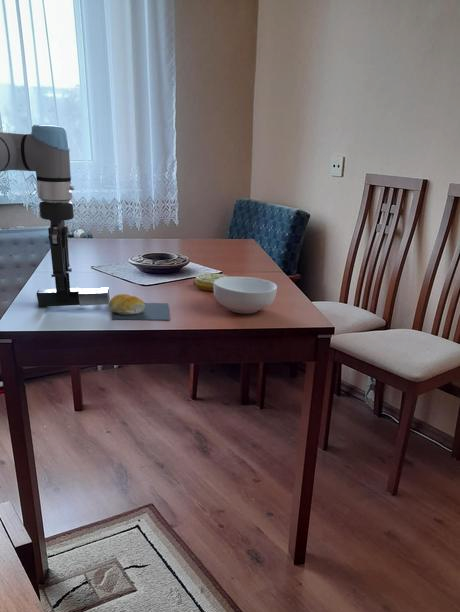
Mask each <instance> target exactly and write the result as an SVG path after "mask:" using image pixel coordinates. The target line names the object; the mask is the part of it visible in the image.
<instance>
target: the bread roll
mask: <svg viewBox="0 0 460 612" xmlns="http://www.w3.org/2000/svg"><path fill="white" fill-rule="evenodd" d="M144 303H145V302H144V300H142V299H141V298H139V297H138V296H135V295H131V294H127V293H119V294H117V295H114V296H113V297H112V298H110V300H109V304H108V307H109V310H110V311H111V312H112V313H113V312H115V313H118V314H121V315H134V314H139V313H141V312H143V310H144V307H145V304H144Z"/></svg>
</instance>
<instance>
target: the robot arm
mask: <svg viewBox="0 0 460 612" xmlns="http://www.w3.org/2000/svg"><path fill="white" fill-rule="evenodd" d="M70 151H71V149H70V145H69V137H68V132H67V129H66V128H65V127H64V126H61V125H45V124H33V125H31V132H30V133H26V134H25V133H15V132H2V131H1V132H0V172H8V171H20V172H21V171H23V172H35V176H36V177H35V178H36V180H35V182H36V190H37V198H38V199H39V200H40V201H39V202H38V210H39V216H40V218H41V219H42V220H45V221H47V220H48V221H49V222H50V225H49V227H48V229H47V230H48V231H47V232H48V236H47V237H48V239H49V240H48V242H49V249H50V257H51V265H52V274H51V278H54V281H55V289H56V295H57V303H69V297H68V289H69V288H71V284H70V281H71V280H70V273H72V271H73V269H72V268H70V255H69V238H68V233H69V228H68V226H67V225H66V223H65V221H70V220H73V219H74V218H75V216H74V213H75V212H74V203H73V202H72V201H71V200H73V191H75V186H74V185H71V184H72V175H71V157H70Z"/></svg>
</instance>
